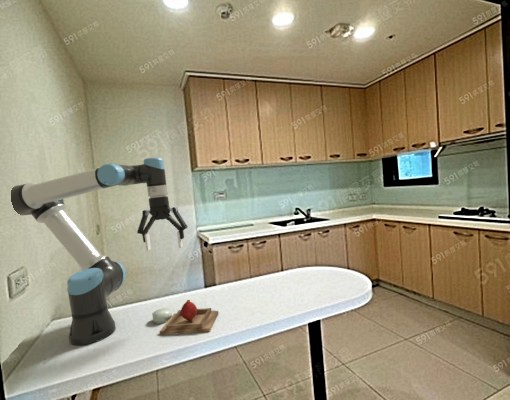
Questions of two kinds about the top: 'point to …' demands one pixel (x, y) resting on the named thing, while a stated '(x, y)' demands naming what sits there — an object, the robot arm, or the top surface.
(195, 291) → the top surface
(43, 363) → the top surface
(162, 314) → the pale green dome
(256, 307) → the top surface
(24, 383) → the top surface
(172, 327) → the tray
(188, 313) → the onion
